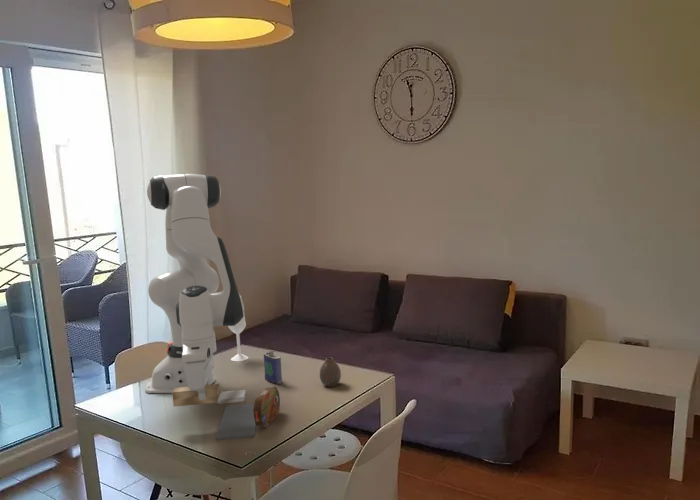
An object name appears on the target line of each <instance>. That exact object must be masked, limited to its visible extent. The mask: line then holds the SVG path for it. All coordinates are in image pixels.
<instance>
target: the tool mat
mask: <svg viewBox="0 0 700 500" xmlns="http://www.w3.org/2000/svg"><path fill="white" fill-rule="evenodd" d="M253 407H254V403H248V404H234V405H225V407H224V411H223V414H222V417H221V420H220V423H219V427H218V430H217V432H216V435H215V440H217V441H221V440H233V439H242V438H243V439H244V438H254V437H255V435H256V430H257V426H256V424H255V419H254V412H253Z"/></svg>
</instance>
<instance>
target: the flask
mask: <svg viewBox="0 0 700 500" xmlns="http://www.w3.org/2000/svg"><path fill="white" fill-rule="evenodd" d="M274 352H275V350H274V349H273V350H271V349H268V350H267V352H264V353H263V363H264V380H265V381H267V382H269V383H270V384H274V385H281V384H283V377H282V376H283V375H282V373H283V372H282V362H281V361H282V358H281V356H279V355H275V354H274Z"/></svg>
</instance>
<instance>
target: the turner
mask: <svg viewBox="0 0 700 500" xmlns="http://www.w3.org/2000/svg"><path fill="white" fill-rule="evenodd" d="M205 391H206V399H205V400H199V395H198V392H197V391H190V389H189V387H180V388H174V390H173V392H172V393H171V394H172V395H171V396H172V402H173V407H185V406H192V405H195V406H196V405H202V404H203V405H204V404H212V403H213V404H215V403H217V404H218V405H219V404H220V405H221V404H222V405H223V404H230V403H232V404H233V403H239V402H245V399H246V395H247V390H246V389H237V390H235V389H234V390H227V391H226V390H225V391H220V384H219V383H214V384H213V383H212V384H211V385H205Z"/></svg>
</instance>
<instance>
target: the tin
mask: <svg viewBox="0 0 700 500" xmlns="http://www.w3.org/2000/svg"><path fill="white" fill-rule="evenodd" d="M280 397H281V396H280V392H279V389H278V388H277V386H271V387H269V386H268V387H265V388H264V389H263V390H262V392H261V393H259V395H258V396H257V397H256V398H255V400H254V402H253V404H254V407H253V412H254V419H255V424H256V427H258V428H269V427H270V426H271V424H272V423H273V421H275V419H276V417H277V416H278V415H279V411H280V408H281V406H280V405H281V404H280V403H281V398H280Z"/></svg>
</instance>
